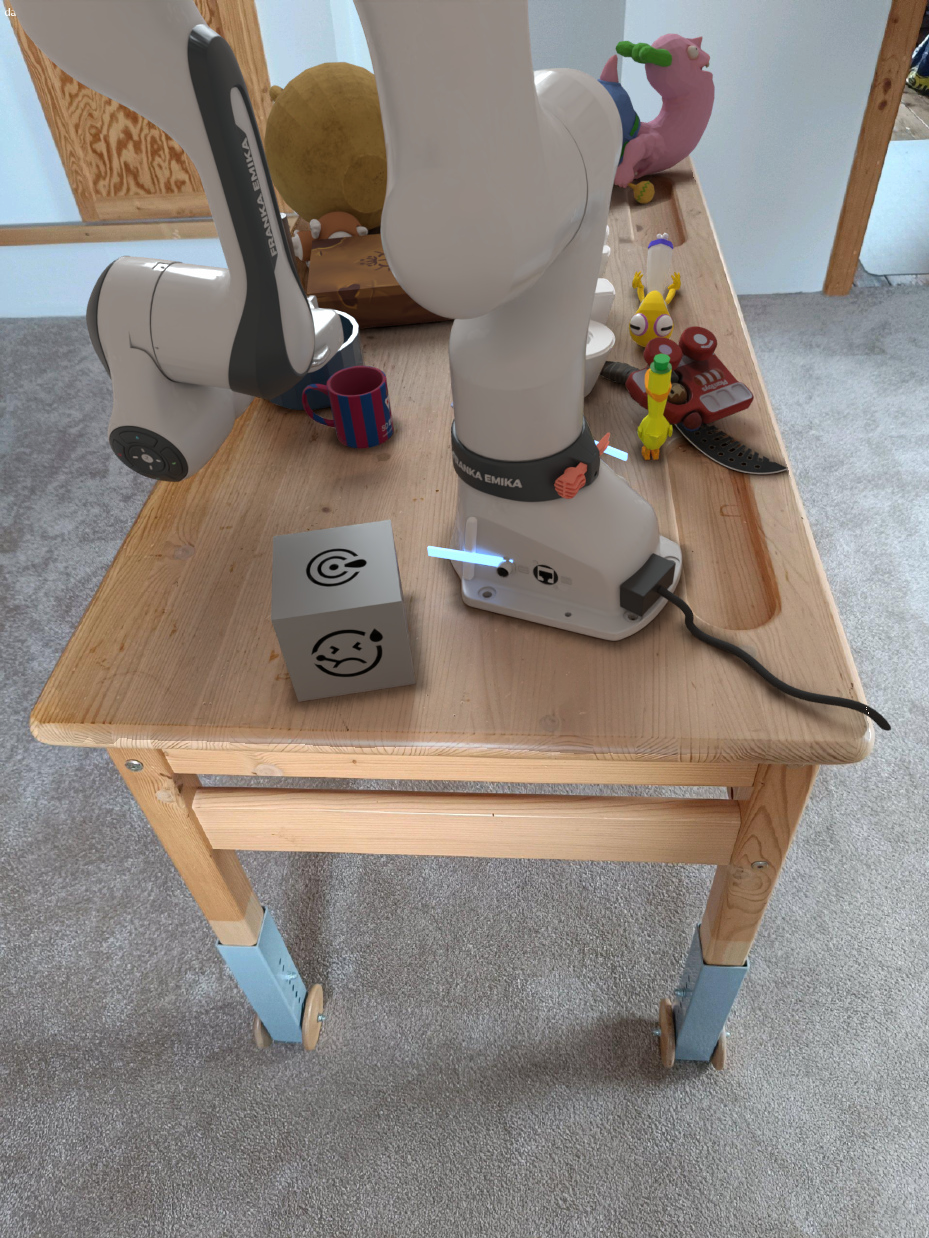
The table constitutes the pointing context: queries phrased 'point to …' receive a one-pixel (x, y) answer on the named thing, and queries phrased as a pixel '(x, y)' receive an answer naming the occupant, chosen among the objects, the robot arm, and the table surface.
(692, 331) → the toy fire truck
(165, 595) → the table surface
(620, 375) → the knife
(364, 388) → the cup
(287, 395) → the bowl
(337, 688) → the icon cube
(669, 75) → the toy
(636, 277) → the character
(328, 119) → the tan rounded lump
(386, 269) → the carved wooden box
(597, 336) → the wavy white extrusion
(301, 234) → the figurine
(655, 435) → the toy figure
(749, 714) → the table surface
